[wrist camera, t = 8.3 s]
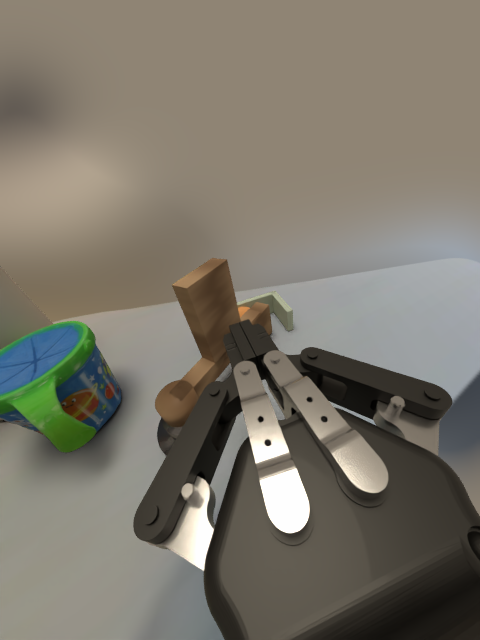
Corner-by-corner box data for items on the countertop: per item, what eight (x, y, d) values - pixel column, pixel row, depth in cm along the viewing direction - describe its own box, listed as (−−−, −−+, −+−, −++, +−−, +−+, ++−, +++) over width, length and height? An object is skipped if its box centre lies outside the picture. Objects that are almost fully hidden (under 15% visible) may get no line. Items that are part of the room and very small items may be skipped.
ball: (222, 317, 30) (227, 332, 33) (248, 327, 29) (250, 342, 32) (236, 297, 32) (240, 313, 35) (261, 306, 31) (262, 322, 34)
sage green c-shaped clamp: (214, 356, 30) (207, 338, 28) (207, 331, 35) (200, 314, 32) (293, 329, 31) (292, 310, 29) (276, 308, 36) (274, 290, 34)
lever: (191, 449, 21) (115, 349, 12) (168, 429, 23) (88, 332, 14) (277, 333, 31) (267, 236, 23) (255, 326, 33) (239, 235, 25)
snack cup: (48, 393, 30) (-18, 341, 24) (123, 354, 34) (83, 300, 28) (36, 512, 19) (-92, 471, 13) (150, 433, 23) (93, 373, 17)
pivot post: (159, 474, 20) (145, 462, 18) (160, 407, 25) (149, 393, 23) (232, 445, 20) (225, 431, 19) (217, 386, 26) (211, 371, 24)
